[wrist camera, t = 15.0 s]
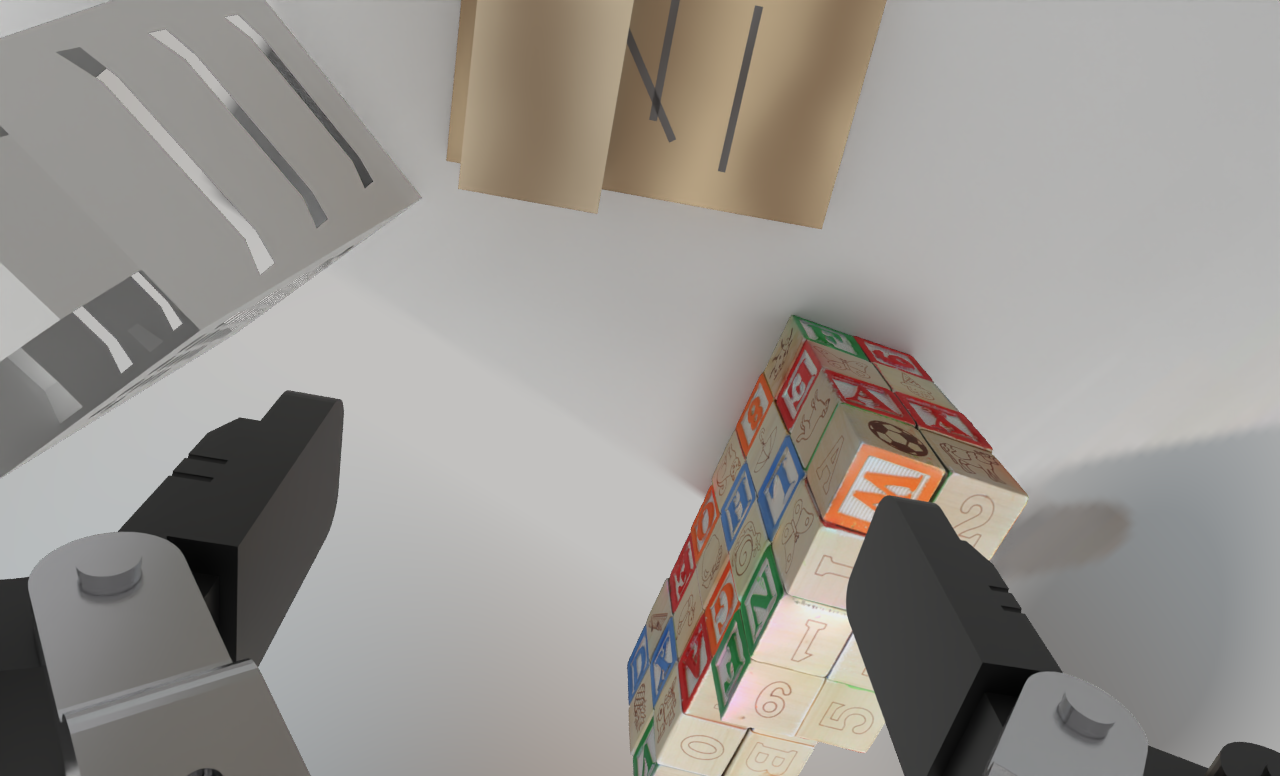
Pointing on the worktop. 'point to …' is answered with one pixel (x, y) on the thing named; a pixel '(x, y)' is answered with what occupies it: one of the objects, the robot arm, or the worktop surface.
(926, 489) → the stack of blocks
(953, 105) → the worktop surface
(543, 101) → the block
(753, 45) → the board
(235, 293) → the grater
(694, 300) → the worktop surface
